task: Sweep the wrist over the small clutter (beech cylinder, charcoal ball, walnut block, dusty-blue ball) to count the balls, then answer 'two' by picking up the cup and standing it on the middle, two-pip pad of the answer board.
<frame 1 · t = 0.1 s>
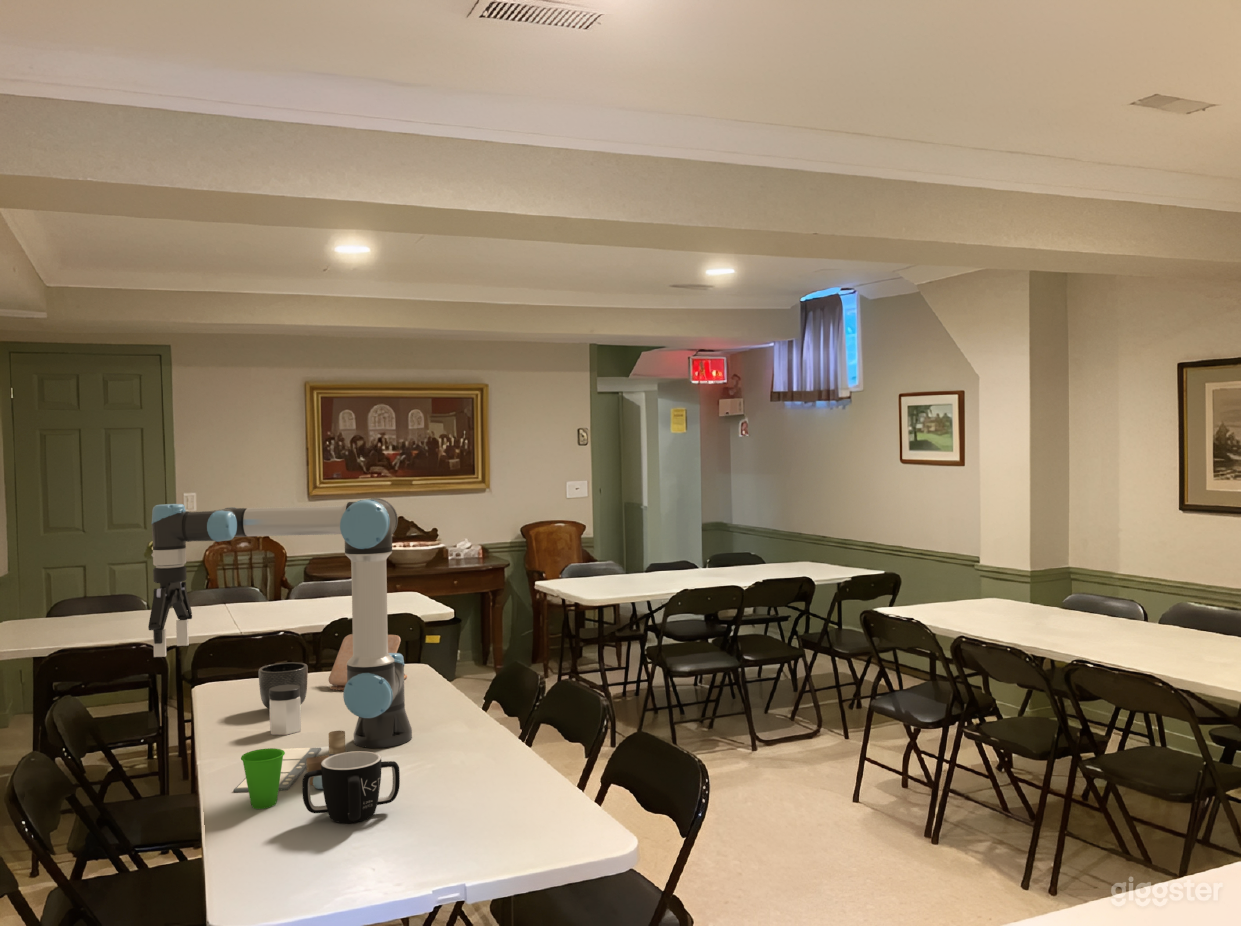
hand: (171, 650, 240), 28 cm above the table, fingers open, 13 cm apart
charcoal ball: (331, 768, 233), on the table
answer board: (280, 769, 234), on the table
beech cylinder: (337, 756, 243), on the table
dusty blue ball: (321, 788, 219), on the table
cup: (264, 805, 210), on the table
mug: (352, 817, 202), on the table
case: (369, 684, 322), on the table
jar: (285, 731, 267), on the table
walnut block: (319, 780, 225), on the table
planter: (284, 710, 290), on the table
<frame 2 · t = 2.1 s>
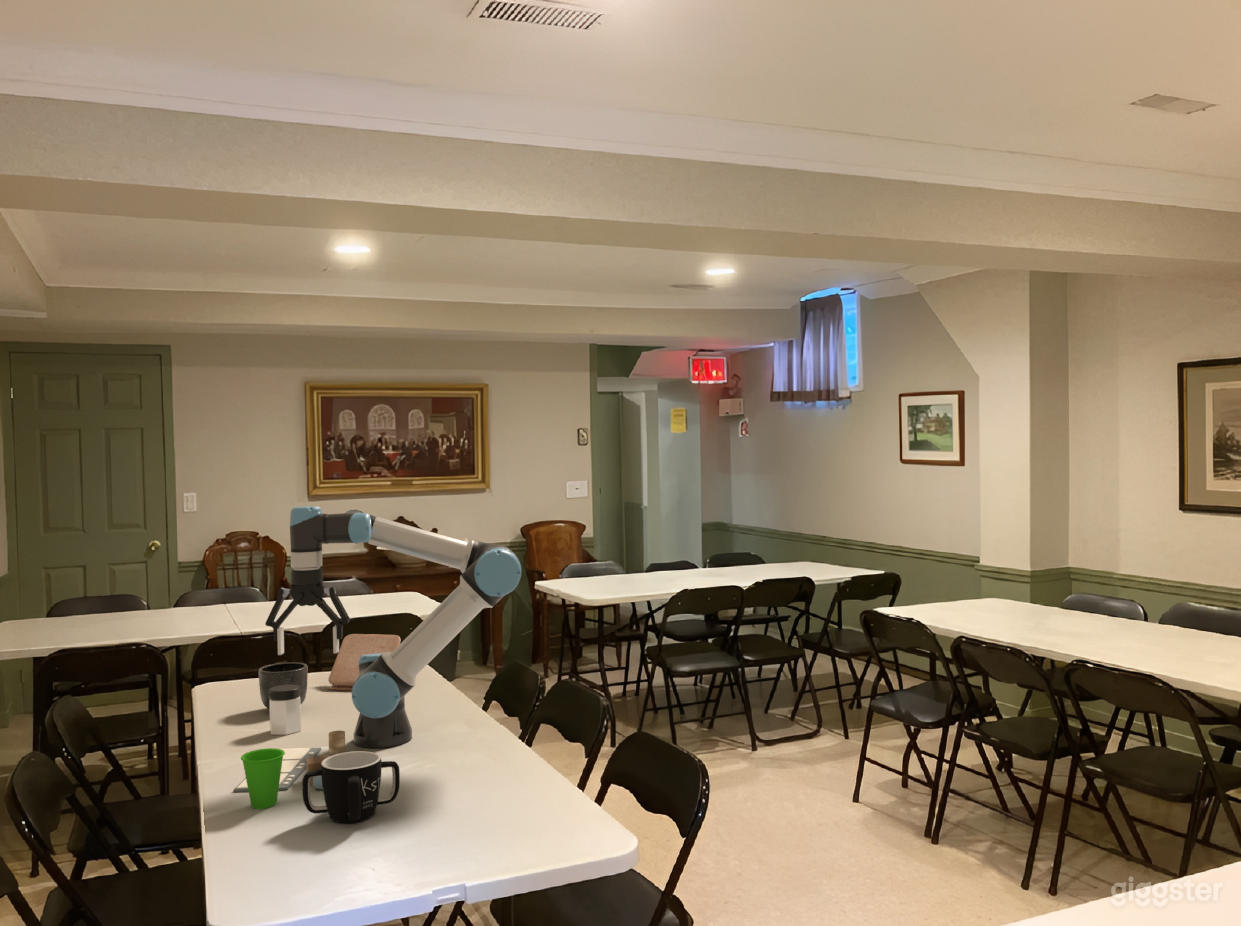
hand: (308, 653, 241), 27 cm above the table, fingers open, 13 cm apart
nothing on the table moved.
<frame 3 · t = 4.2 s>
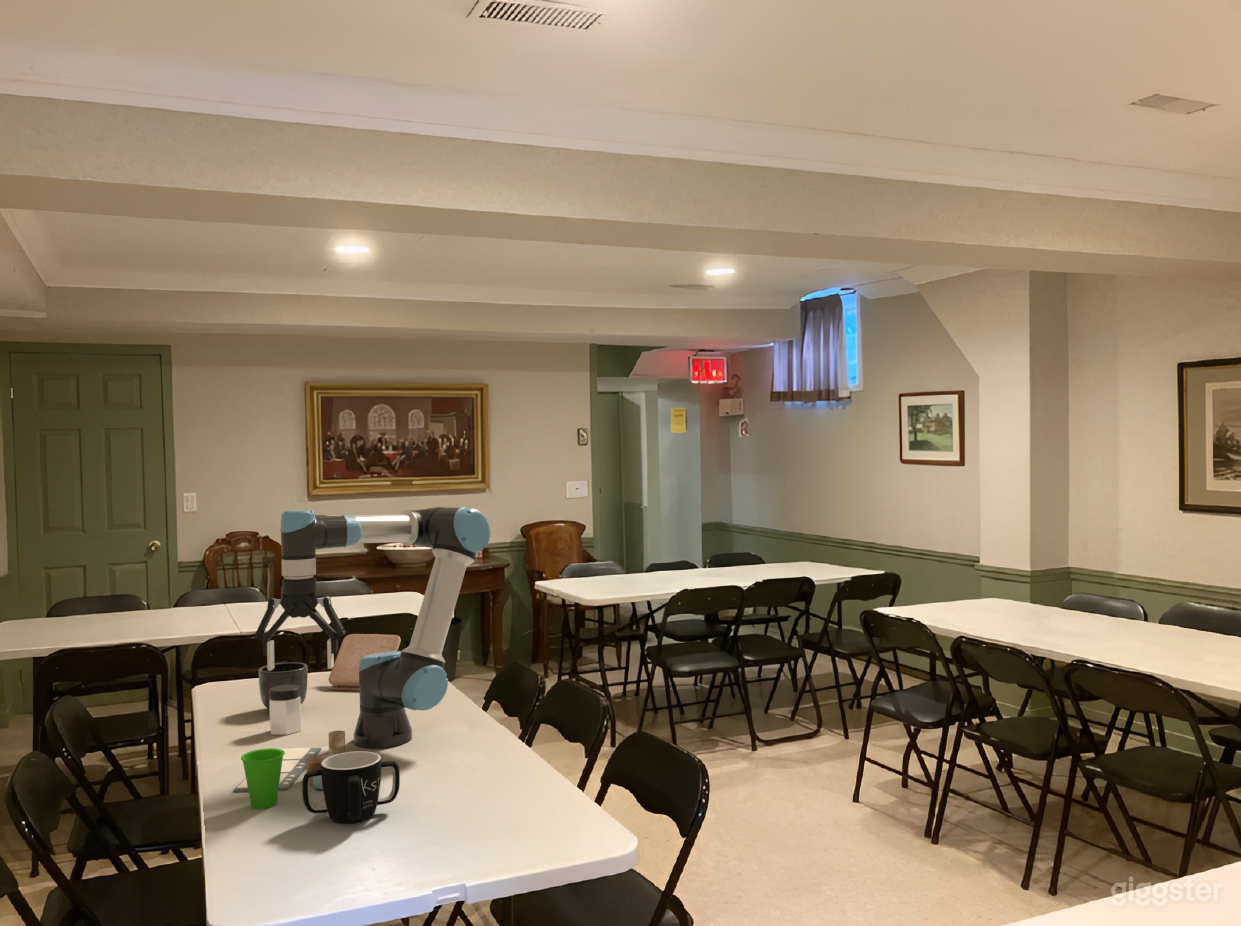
hand: (301, 668, 223), 27 cm above the table, fingers open, 13 cm apart
nothing on the table moved.
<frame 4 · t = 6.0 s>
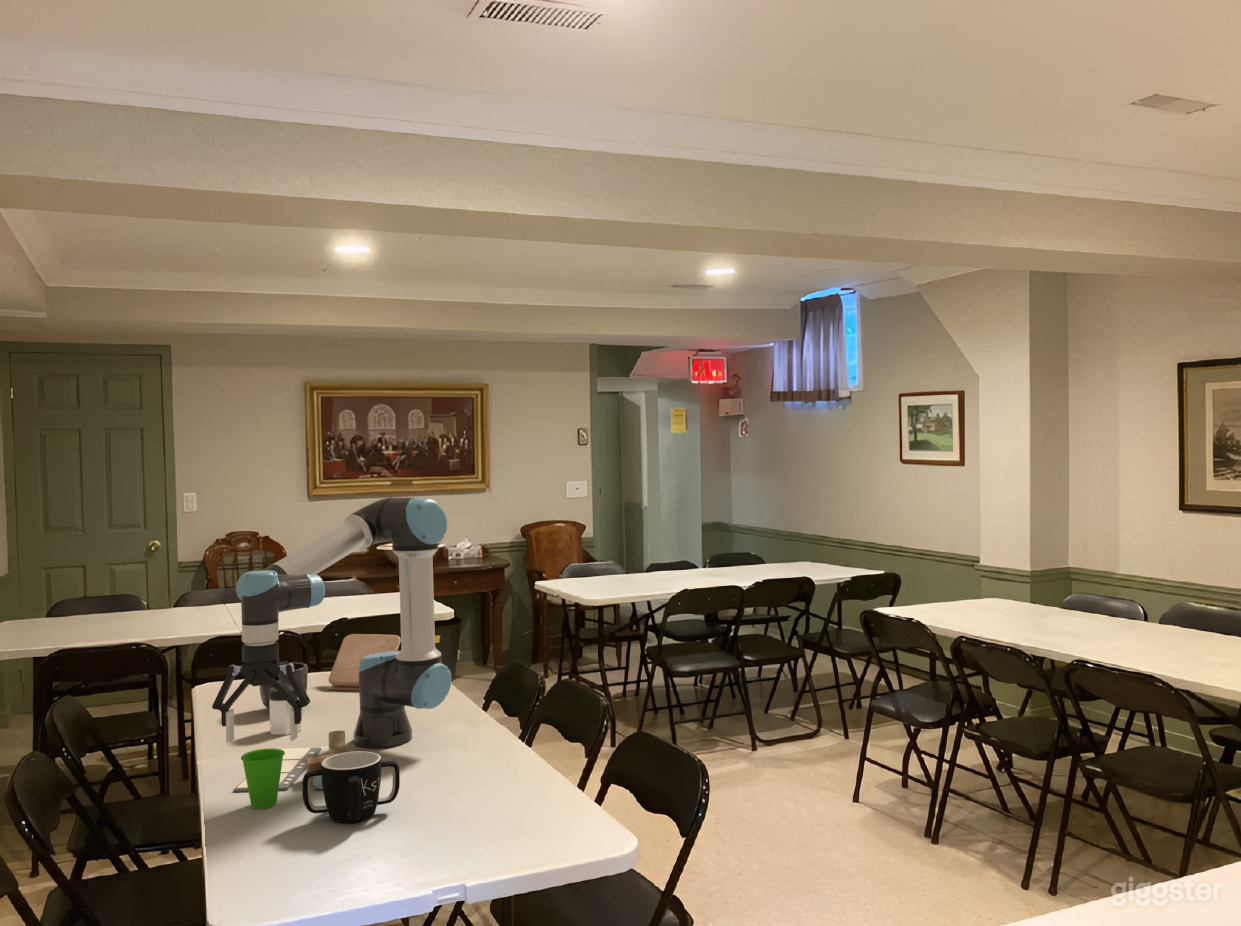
hand: (262, 739, 210), 14 cm above the table, fingers open, 13 cm apart
nothing on the table moved.
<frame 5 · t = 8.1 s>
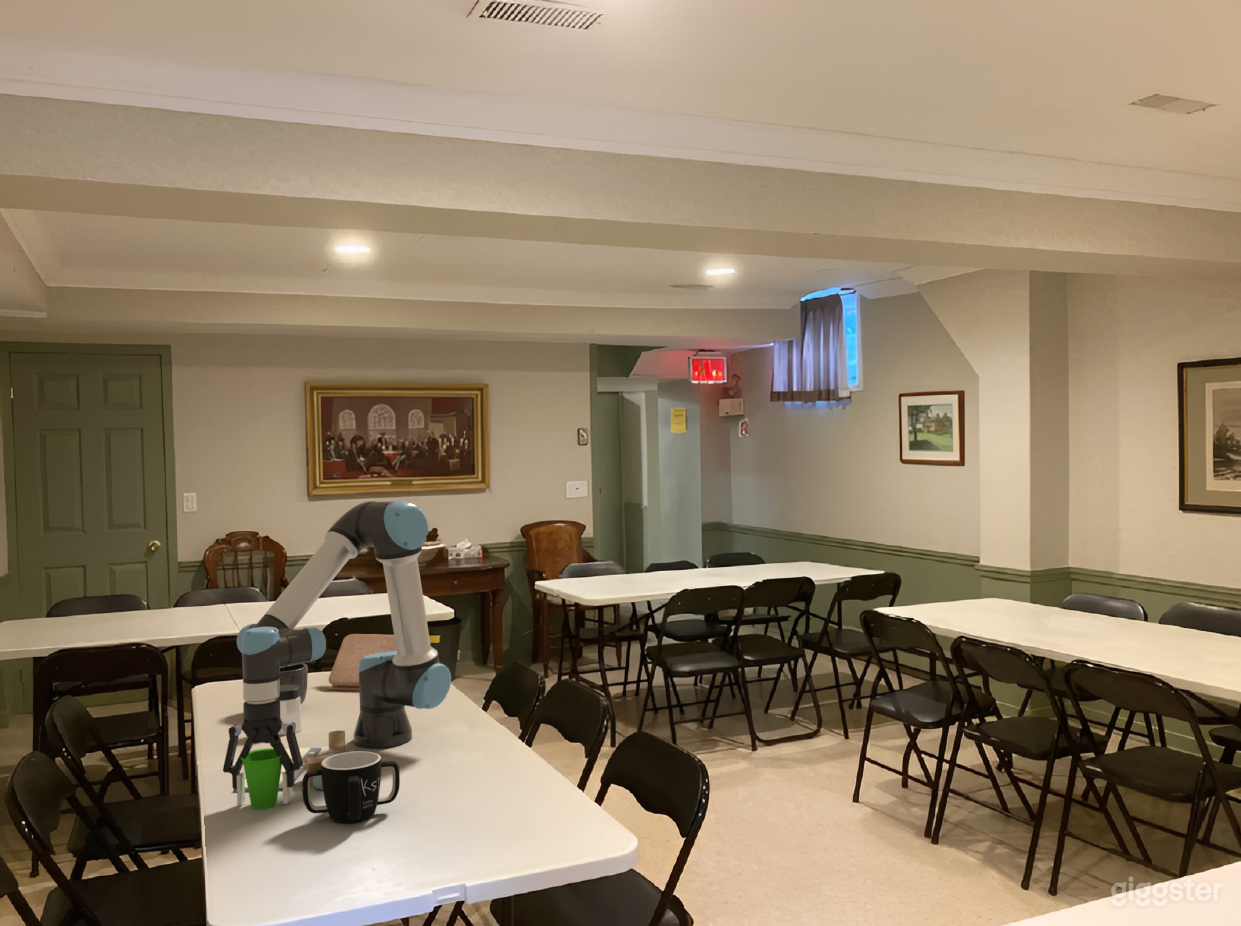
hand: (264, 802, 210), 0 cm above the table, fingers closed on cup, 9 cm apart
cup: (264, 805, 210), on the table, touching gripper
everything else where it was.
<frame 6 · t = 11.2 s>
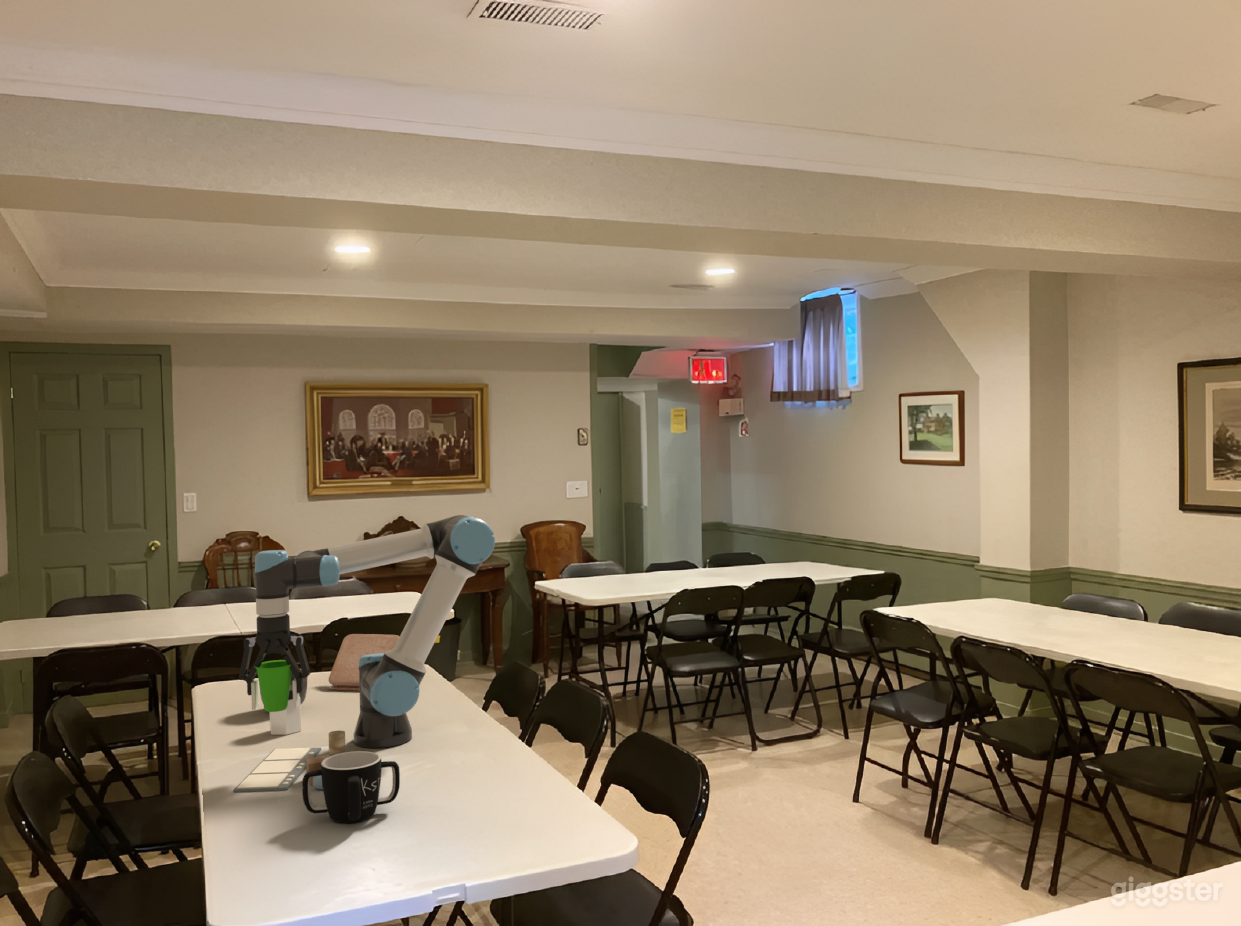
hand: (275, 707, 233), 15 cm above the table, fingers closed on cup, 9 cm apart
cup: (275, 709, 233), point 15 cm above the table, touching gripper
everything else where it was.
when the fingers open (2 cm above the table, at t = 14.2 s): cup drops 1 cm, resting on answer board.
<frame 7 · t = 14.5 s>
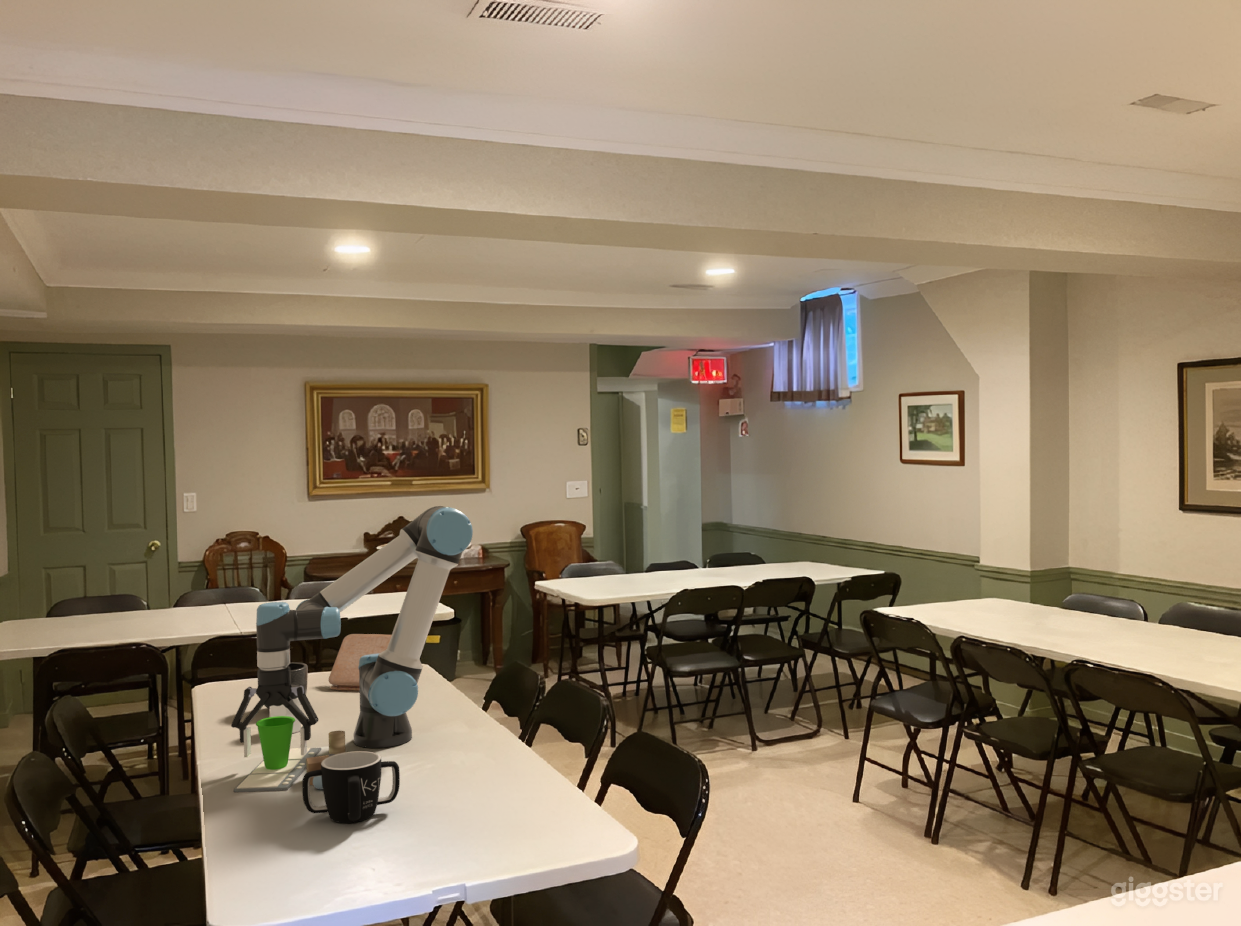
hand: (275, 754, 234), 4 cm above the table, fingers open, 13 cm apart
cup: (276, 766, 234), point 1 cm above the table, touching answer board
everything else where it was.
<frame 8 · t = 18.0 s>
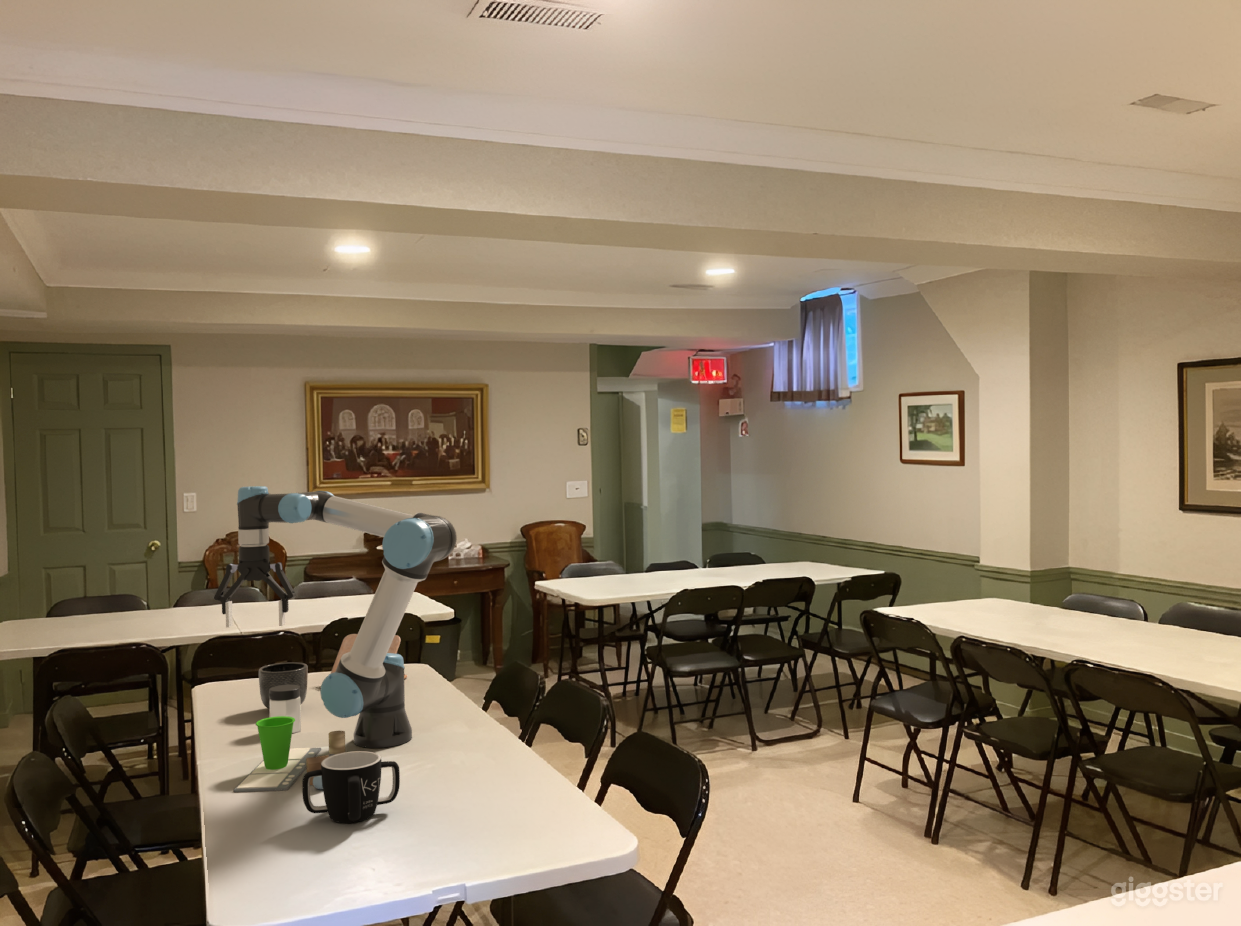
hand: (255, 625, 253), 32 cm above the table, fingers open, 13 cm apart
nothing on the table moved.
at the end: cup inside the target area on the answer board (0.0 cm from its centre), point 0.6 cm above the answer board's base; cup tilted 0°; the gripper is holding nothing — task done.
